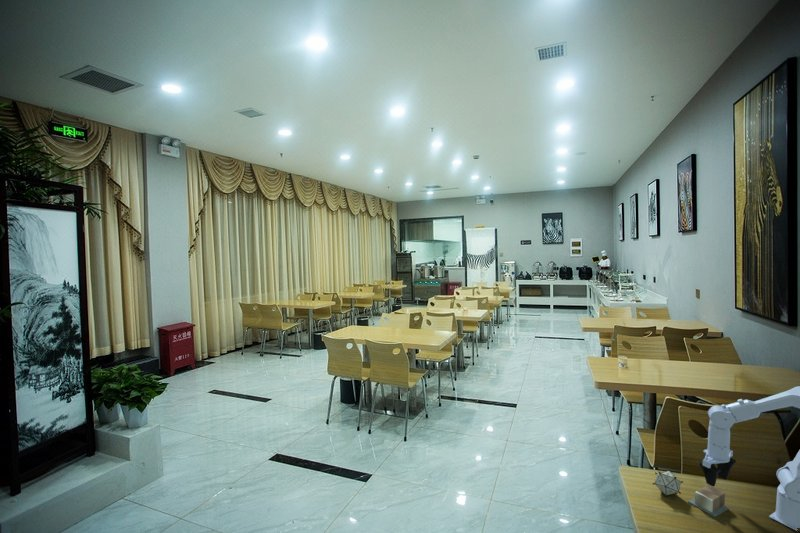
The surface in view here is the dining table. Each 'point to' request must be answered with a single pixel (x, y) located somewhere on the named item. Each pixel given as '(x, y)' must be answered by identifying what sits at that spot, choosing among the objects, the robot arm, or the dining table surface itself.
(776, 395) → the robot arm
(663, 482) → the game die
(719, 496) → the pinkish beige block
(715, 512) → the mat
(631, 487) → the dining table surface
